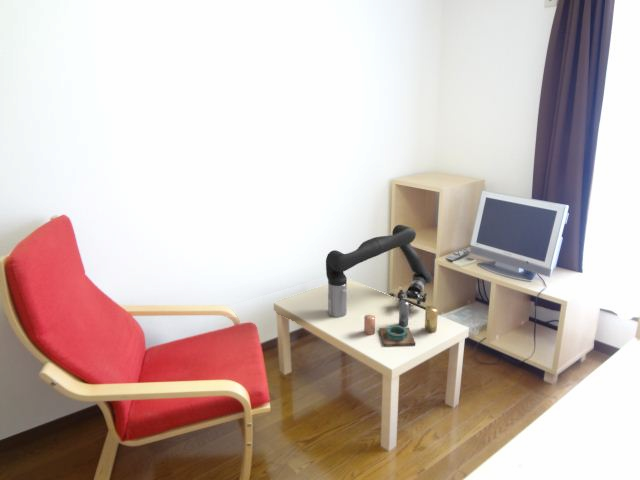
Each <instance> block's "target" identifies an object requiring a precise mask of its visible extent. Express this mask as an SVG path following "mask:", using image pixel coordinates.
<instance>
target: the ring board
mask: <svg viewBox="0 0 640 480" xmlns="http://www.w3.org/2000/svg"><path fill="white" fill-rule="evenodd" d="M378 331H379V334H380V338H381V341H382V344H383V347H407V346H409V347H410V346H416V341H415V338H414V337H413V334H412V331H411V330H410V327H409V326H407V327H401V326H399V325H390V326H389V327H379V329H378Z"/></svg>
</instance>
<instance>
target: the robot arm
mask: <svg viewBox="0 0 640 480" xmlns="http://www.w3.org/2000/svg"><path fill="white" fill-rule="evenodd" d="M416 236H417V232H416V230H415V229H414V228H412V227H410V226H406V225H403V224H397V225H395V226H394V227H393V229H392V234H391V235H383V236H382V235H381V236H376V237H372V238H369V239H366V240H365V241H363V242H362V243H361V244H360V245H359V246H358V247H357V249H355V250H353V251H351V252H348V253H342V252H341V251H339V250H331V251H329V253H327V255H326V259H325V270H326V271H325V274H326V279H327V283H328V288H327V289H328V291H327V292H328V293H327V301H328V302H327V304H328V305H327V306H328V307H327V309H328V310H327V311H328V316H329V317H334V318H343V317H345V316H346V315H347V310H348V309H347V306H348V305H347V303H348V302H347V301H348V300H347V296H348V295H347V289H348V288H347V285H348V283H347V282H348V281H347V280H348V278H347V276H346V275H345V272H346V271H348V270H350V269H352V268H353V267H355V266H357V265H358V264H360V263H363V262H365V261H368V260H370V259H373V258H375V257H377V256H380V255H382V254H384V253H387V252H390V251H392V250H393V249H396V248H400V250H401V251H402V253H403V255H404V257H405V258H406V260H407V262H408V265H409V268H410V270H411V272H413V274H412V282H411V283H409V286H408V288H407V290H406V291H404V290H403V289H400V290H399V291H398V292H397V299H399V300H398V302H400V301H402V300H408V299H412V300H415V301H416V305H417V306H419V305H421V303H426V301H427V298H428V297H427V296H428V295H427V293H423V292H424V290H425V287H426V285H427V284H430V283H431V282H432V281H433V280H432V279H433V276H432V274H431V272H430V271H429V270H428V269H427V268H426V266H425V265H424V263H423V261H422V258H421V256H420V255H419V253H418V252H417V251H416V249H415V248H414V247H413V245H411V243H413V242H414V240H415V239H416Z"/></svg>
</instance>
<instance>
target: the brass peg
mask: <svg viewBox="0 0 640 480" xmlns="http://www.w3.org/2000/svg"><path fill="white" fill-rule="evenodd" d="M438 313H439V308H438V307H436V306H434V305H430V306H428V305H427V306H426V307H425V314H424V327H423V328H424V329H423V330H424V331H425V332H426V333H431V334H433V333H436V332H437V328H438V327H437V326H438V315H439V314H438Z"/></svg>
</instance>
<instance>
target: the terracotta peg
mask: <svg viewBox="0 0 640 480" xmlns="http://www.w3.org/2000/svg"><path fill="white" fill-rule="evenodd" d="M363 318H364V322H363V323H364V324H363V325H364V327H363V333H364V334H365V335H367V336H372V335H375V334H376V316H375V315H373V314H366V315H364V317H363Z"/></svg>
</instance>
